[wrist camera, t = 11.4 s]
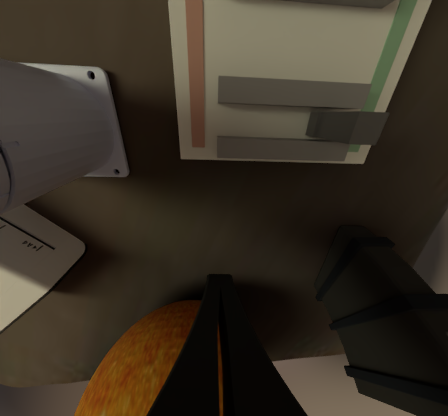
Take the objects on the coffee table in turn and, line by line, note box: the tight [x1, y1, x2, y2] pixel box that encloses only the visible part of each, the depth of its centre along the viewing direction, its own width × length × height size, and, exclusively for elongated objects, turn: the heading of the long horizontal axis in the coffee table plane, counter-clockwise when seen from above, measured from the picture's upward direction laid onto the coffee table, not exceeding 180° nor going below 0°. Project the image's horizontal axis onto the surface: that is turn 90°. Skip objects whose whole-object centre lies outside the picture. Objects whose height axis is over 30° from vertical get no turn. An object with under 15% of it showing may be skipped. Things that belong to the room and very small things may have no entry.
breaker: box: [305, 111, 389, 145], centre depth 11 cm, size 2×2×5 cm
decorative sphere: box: [74, 300, 223, 416], centre depth 18 cm, size 20×20×20 cm
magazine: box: [314, 226, 448, 416], centre depth 18 cm, size 4×13×15 cm, turn 177°
